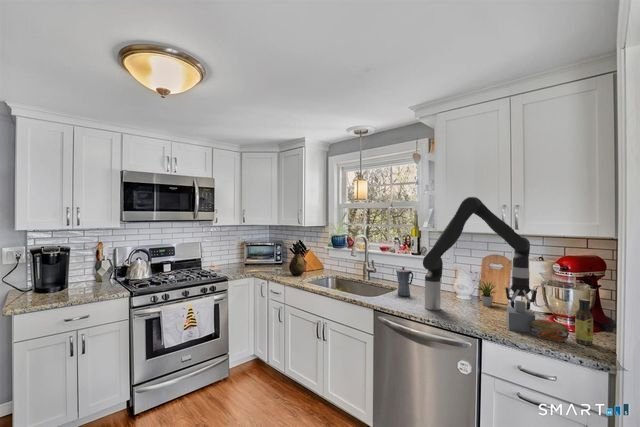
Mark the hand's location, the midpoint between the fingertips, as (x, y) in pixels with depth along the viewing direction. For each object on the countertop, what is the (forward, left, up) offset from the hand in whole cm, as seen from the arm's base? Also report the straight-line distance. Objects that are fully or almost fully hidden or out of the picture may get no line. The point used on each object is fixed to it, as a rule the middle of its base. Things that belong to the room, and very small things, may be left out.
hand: (520, 308), depth 162 cm
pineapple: (-145, -113, -10) cm, 184 cm away
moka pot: (-69, -36, -10) cm, 78 cm away
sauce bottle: (+20, +16, -10) cm, 27 cm away
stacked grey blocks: (0, 0, -10) cm, 10 cm away
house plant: (-41, +10, -10) cm, 43 cm away
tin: (+14, +4, -10) cm, 18 cm away
